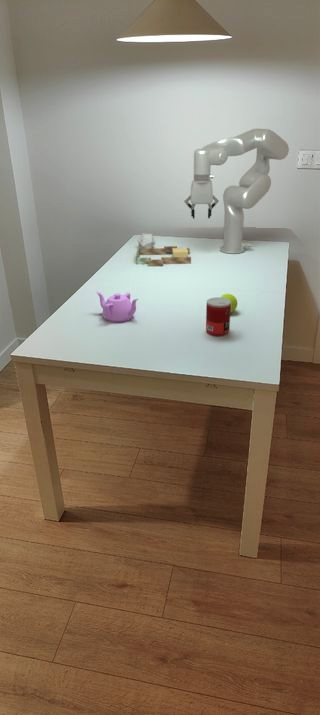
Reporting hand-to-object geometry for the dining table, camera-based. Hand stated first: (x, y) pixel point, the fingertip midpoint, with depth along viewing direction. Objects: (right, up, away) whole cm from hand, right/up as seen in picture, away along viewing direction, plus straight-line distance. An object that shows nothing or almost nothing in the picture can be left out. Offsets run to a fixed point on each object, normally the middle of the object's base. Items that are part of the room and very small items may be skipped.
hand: (201, 217), depth 242 cm
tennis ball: (+5, -49, -52) cm, 72 cm away
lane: (-18, -18, +9) cm, 27 cm away
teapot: (-35, -51, -54) cm, 82 cm away
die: (-26, -10, +26) cm, 38 cm away
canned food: (0, -57, -67) cm, 88 cm away
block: (-10, -18, +9) cm, 22 cm away
